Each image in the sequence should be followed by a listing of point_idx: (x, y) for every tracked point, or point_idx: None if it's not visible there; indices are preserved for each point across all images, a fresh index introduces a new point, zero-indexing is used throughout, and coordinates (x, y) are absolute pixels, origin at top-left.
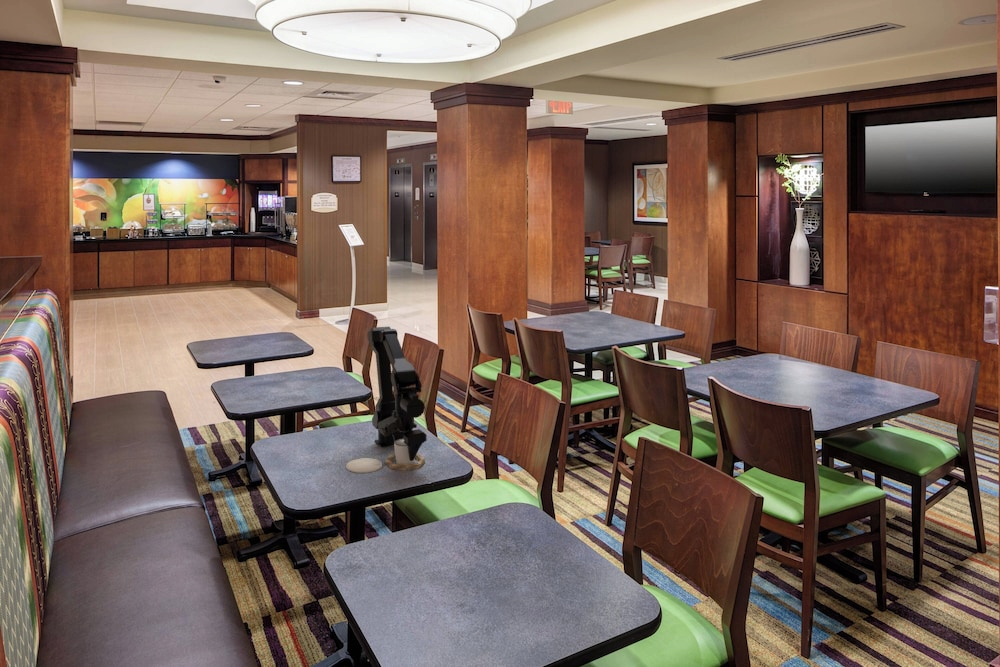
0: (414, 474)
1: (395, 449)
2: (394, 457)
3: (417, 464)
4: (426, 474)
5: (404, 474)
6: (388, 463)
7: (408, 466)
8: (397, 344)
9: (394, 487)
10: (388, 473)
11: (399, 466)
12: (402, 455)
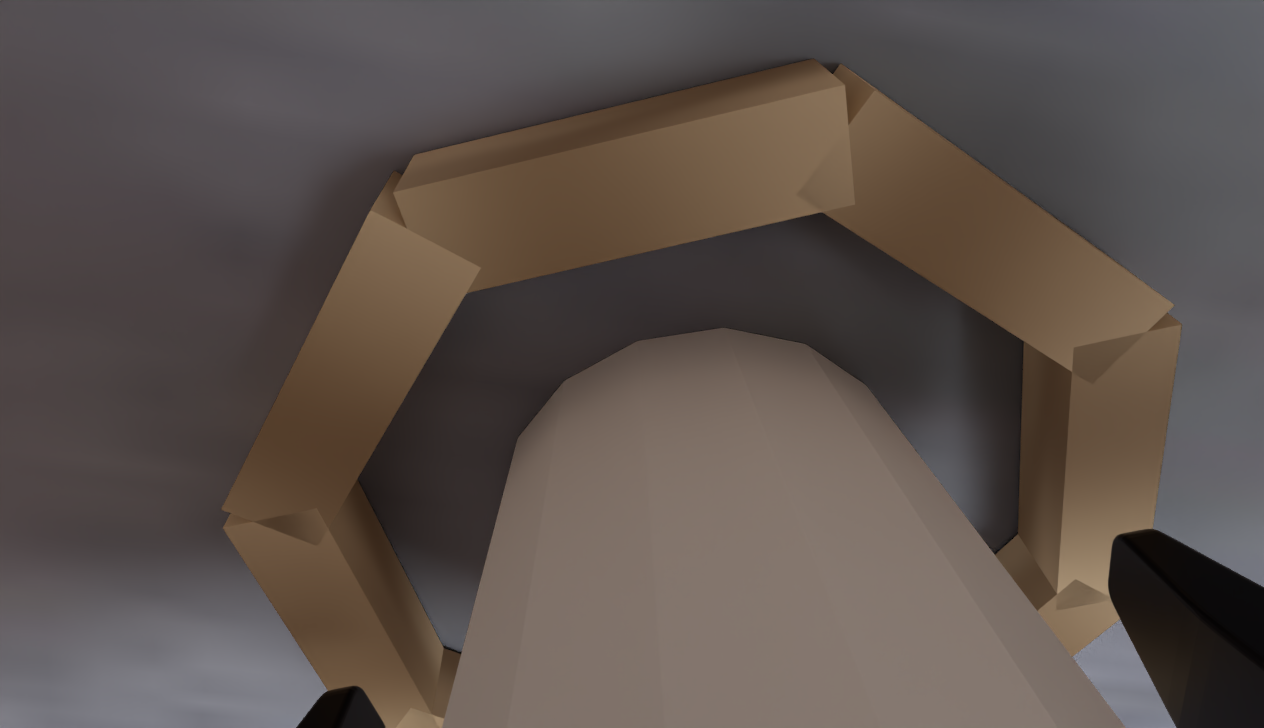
0: (29, 563)
1: (734, 632)
2: (1045, 360)
3: None
4: (41, 720)
5: (16, 393)
6: (603, 136)
7: (246, 564)
8: None
9: None
10: (71, 9)
11: (286, 386)
12: (466, 654)
